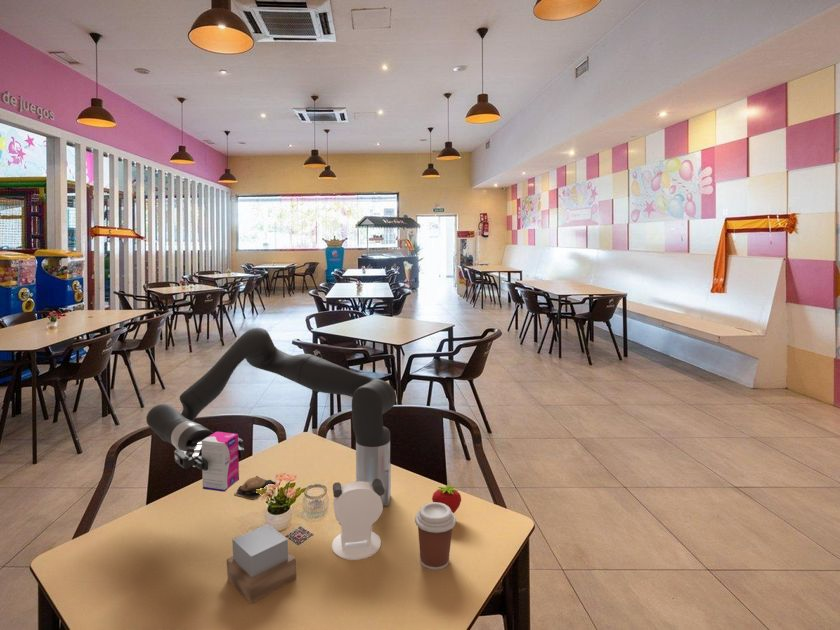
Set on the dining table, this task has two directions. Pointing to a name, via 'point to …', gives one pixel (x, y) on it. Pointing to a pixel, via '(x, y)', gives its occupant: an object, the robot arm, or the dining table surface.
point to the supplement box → (220, 461)
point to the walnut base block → (261, 578)
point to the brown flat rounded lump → (252, 487)
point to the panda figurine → (357, 518)
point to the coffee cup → (435, 534)
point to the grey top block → (260, 550)
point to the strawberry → (447, 497)
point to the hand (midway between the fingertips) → (224, 460)
